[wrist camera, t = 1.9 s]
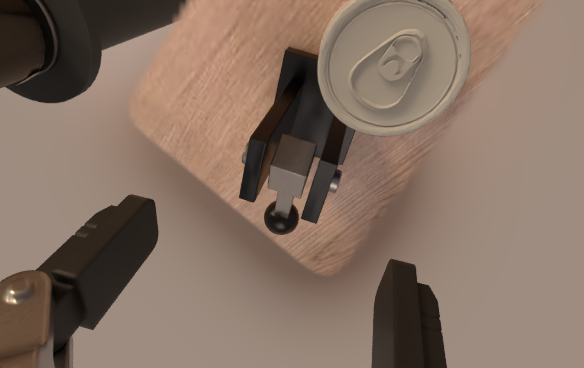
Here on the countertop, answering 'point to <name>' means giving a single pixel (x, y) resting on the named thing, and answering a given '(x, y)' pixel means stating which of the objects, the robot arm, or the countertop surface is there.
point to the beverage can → (393, 63)
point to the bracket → (298, 132)
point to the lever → (288, 182)
